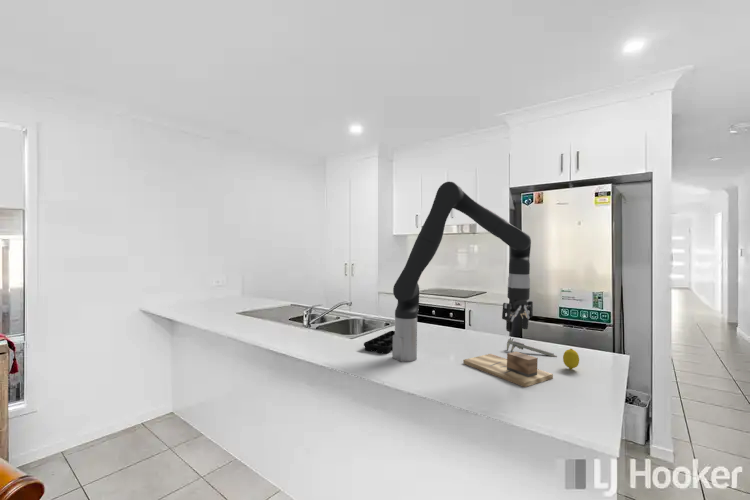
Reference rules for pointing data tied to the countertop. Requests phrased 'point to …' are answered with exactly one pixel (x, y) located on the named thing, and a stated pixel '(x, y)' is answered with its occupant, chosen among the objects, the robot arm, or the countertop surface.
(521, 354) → the block
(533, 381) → the plywood board
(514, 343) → the caliper
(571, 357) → the lemon
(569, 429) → the countertop surface
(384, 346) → the egg carton
